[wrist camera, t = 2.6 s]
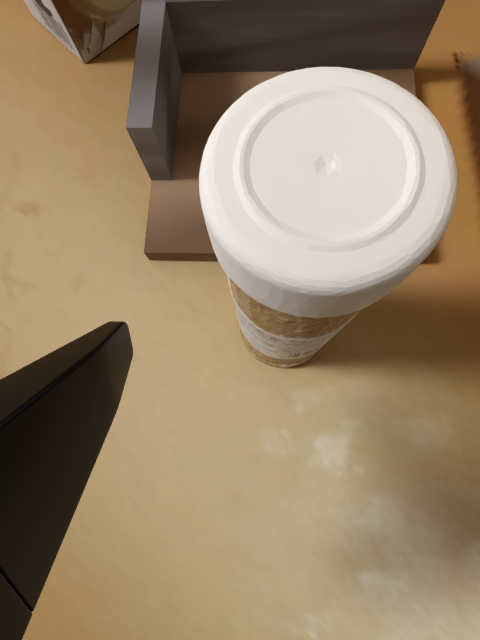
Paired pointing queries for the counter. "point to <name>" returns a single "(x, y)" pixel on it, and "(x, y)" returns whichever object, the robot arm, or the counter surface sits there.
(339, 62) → the corner arena
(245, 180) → the sprinkles bottle
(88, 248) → the counter surface
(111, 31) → the coffee box
